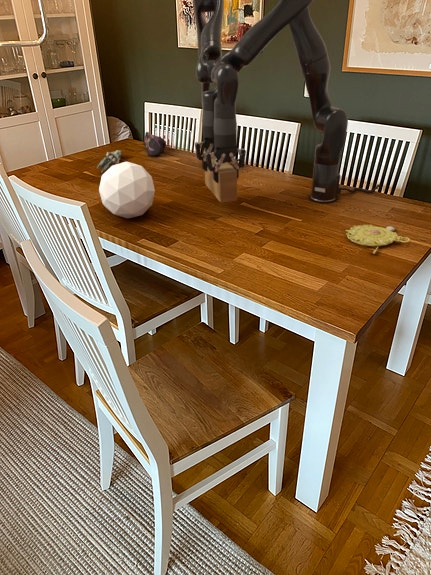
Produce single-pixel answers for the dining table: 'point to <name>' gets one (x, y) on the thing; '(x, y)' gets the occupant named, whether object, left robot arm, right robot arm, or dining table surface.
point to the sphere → (127, 190)
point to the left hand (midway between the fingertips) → (214, 169)
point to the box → (223, 182)
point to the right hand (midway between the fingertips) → (226, 180)
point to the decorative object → (374, 235)
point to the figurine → (110, 160)
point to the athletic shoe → (154, 144)
